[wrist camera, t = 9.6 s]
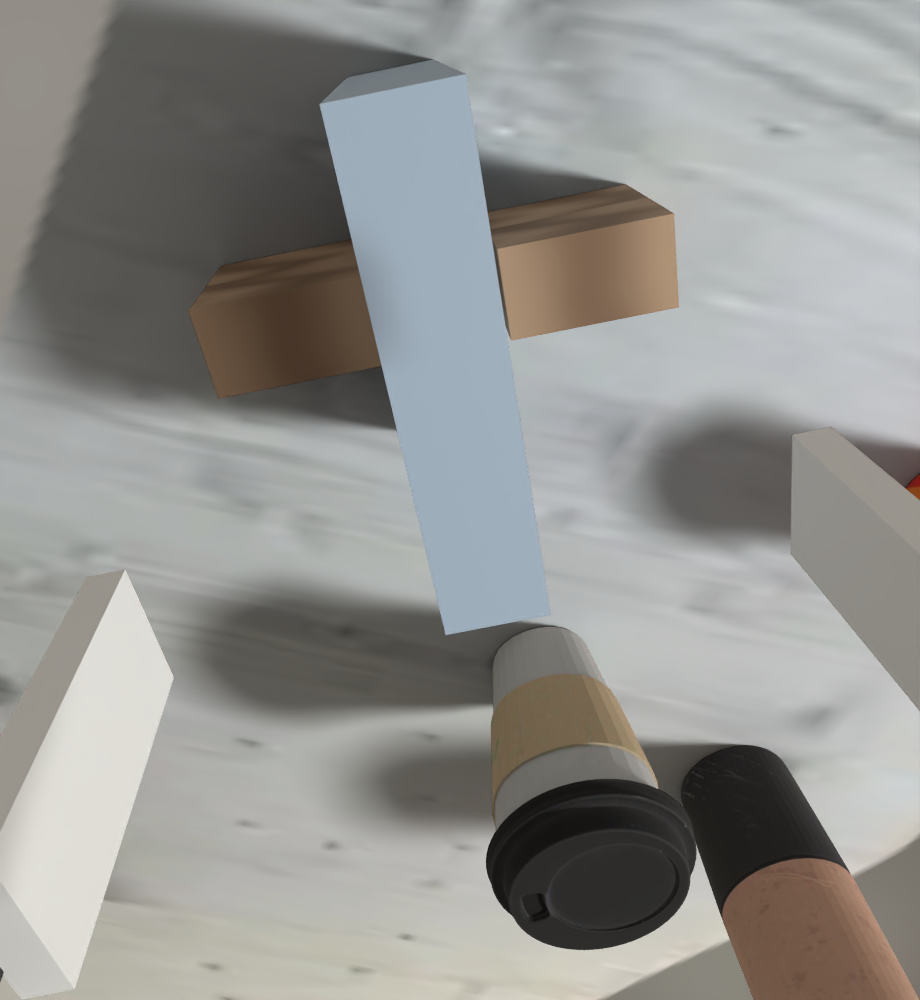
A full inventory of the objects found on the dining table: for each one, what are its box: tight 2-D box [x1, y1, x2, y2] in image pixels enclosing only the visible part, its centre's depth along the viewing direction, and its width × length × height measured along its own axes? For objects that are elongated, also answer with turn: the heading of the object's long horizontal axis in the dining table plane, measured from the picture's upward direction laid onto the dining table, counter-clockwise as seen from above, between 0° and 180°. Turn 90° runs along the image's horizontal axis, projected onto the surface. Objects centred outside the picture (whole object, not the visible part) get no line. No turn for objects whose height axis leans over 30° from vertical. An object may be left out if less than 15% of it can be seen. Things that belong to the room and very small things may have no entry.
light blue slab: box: [319, 60, 551, 635], centre depth 31 cm, size 4×16×16 cm, turn 10°
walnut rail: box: [188, 184, 679, 398], centre depth 34 cm, size 18×4×7 cm, turn 100°
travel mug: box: [681, 746, 919, 1000], centre depth 46 cm, size 8×8×20 cm
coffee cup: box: [486, 627, 696, 950], centre depth 43 cm, size 9×9×15 cm
